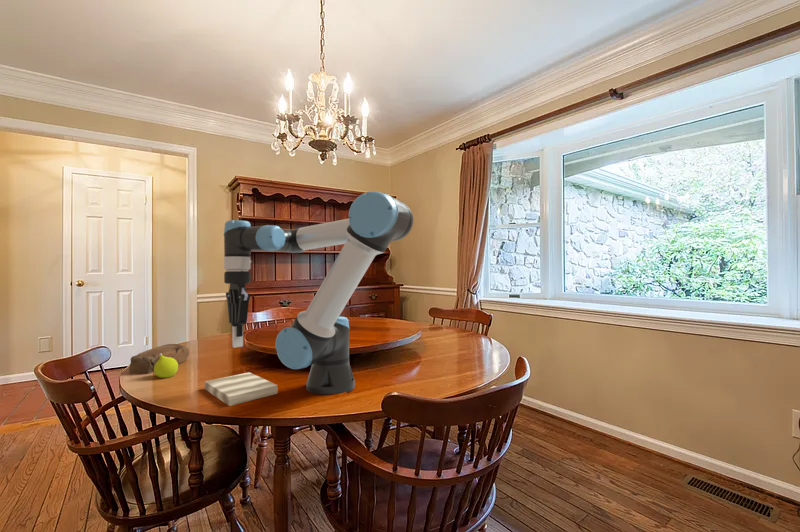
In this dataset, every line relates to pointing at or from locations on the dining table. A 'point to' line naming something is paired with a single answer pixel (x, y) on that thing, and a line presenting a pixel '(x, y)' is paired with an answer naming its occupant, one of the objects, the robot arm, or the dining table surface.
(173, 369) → the ornament
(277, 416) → the dining table surface
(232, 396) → the board
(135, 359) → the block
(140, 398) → the dining table surface
